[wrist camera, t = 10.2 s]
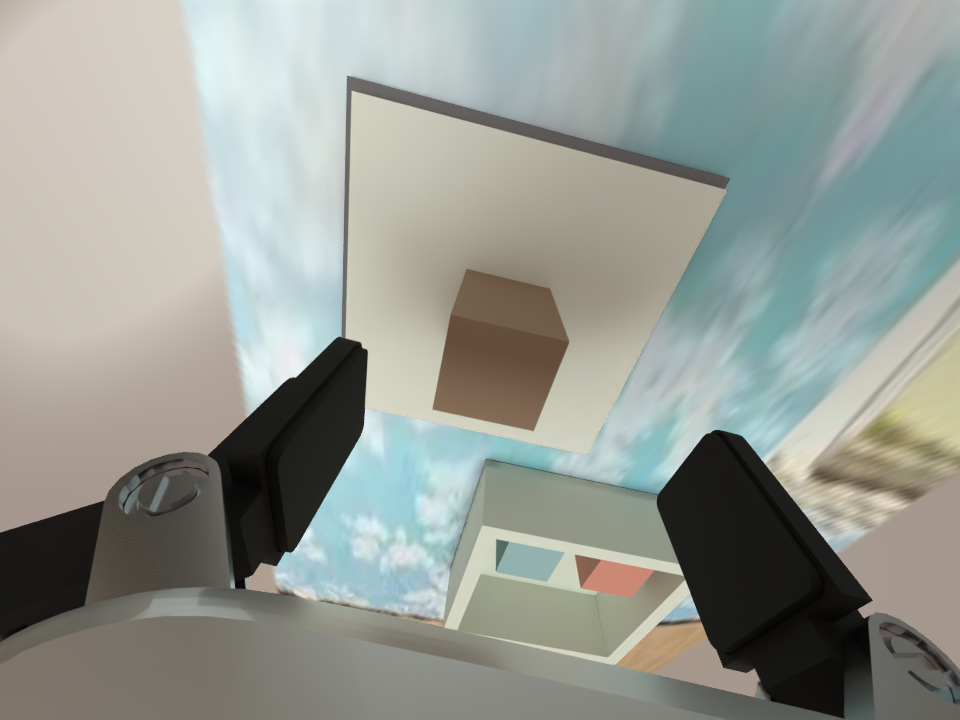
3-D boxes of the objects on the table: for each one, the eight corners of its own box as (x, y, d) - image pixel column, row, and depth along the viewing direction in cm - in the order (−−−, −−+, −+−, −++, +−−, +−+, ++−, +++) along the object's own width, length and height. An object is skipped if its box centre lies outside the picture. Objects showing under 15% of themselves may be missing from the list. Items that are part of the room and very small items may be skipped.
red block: (636, 519, 25) (655, 569, 22) (615, 547, 27) (630, 597, 24) (589, 509, 25) (601, 559, 22) (571, 538, 27) (580, 588, 23)
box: (676, 499, 25) (713, 570, 20) (599, 595, 32) (614, 664, 27) (486, 459, 24) (482, 525, 19) (450, 567, 31) (441, 634, 26)
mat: (724, 178, 15) (730, 178, 14) (585, 446, 23) (586, 450, 22) (351, 77, 14) (347, 75, 13) (343, 394, 22) (340, 397, 21)
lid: (714, 188, 14) (848, 204, 9) (583, 443, 22) (610, 540, 16) (361, 95, 14) (260, 47, 8) (350, 393, 21) (294, 477, 15)
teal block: (557, 503, 25) (564, 552, 22) (541, 532, 26) (546, 581, 23) (508, 493, 24) (509, 541, 21) (496, 523, 26) (495, 572, 23)
